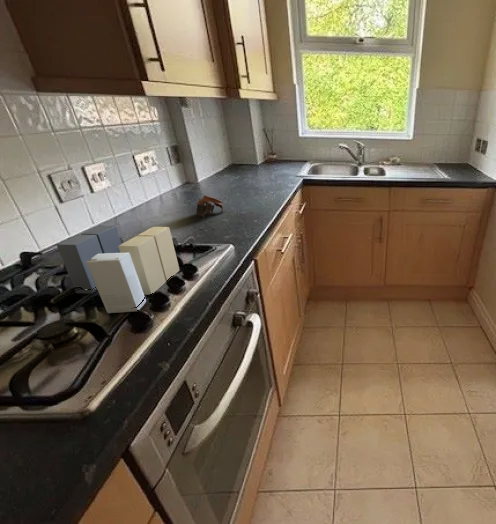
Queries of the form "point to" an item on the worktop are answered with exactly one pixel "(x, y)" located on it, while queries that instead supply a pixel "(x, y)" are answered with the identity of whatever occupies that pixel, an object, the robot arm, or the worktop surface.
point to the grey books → (87, 253)
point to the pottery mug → (207, 205)
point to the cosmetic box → (116, 282)
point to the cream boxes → (152, 257)
